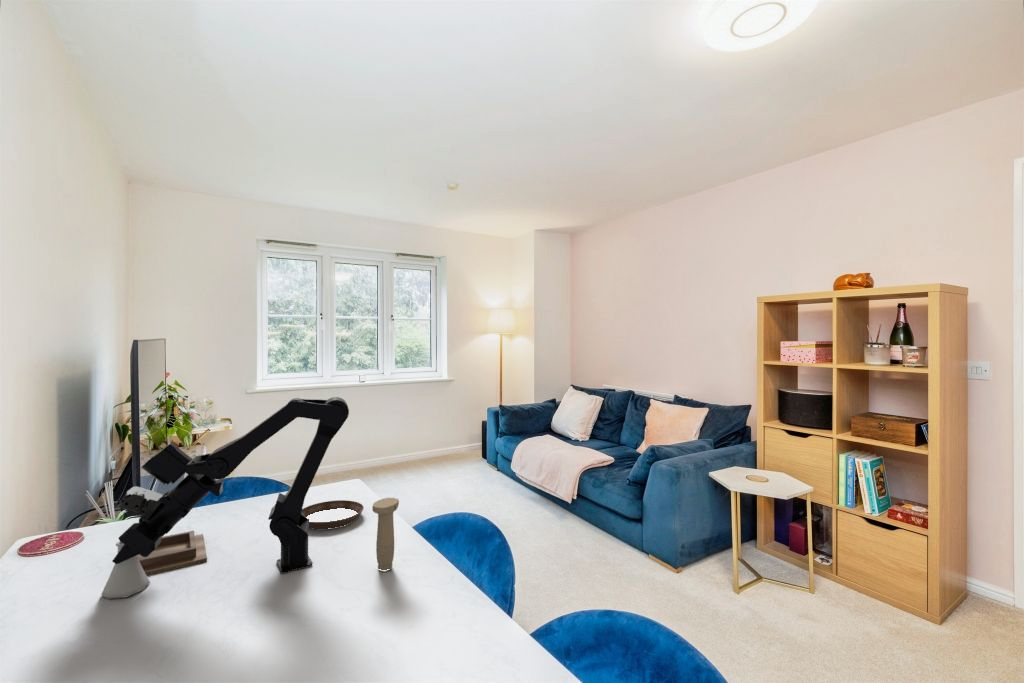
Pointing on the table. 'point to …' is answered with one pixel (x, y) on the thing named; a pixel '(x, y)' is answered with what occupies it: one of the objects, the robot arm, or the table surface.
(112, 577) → the flask
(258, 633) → the table surface
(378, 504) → the handle
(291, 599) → the table surface
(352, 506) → the ring
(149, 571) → the holder
